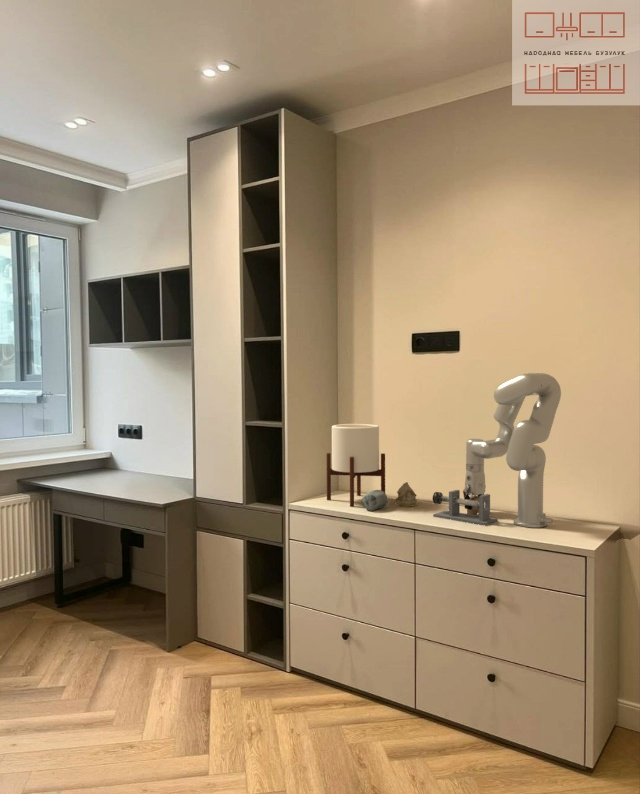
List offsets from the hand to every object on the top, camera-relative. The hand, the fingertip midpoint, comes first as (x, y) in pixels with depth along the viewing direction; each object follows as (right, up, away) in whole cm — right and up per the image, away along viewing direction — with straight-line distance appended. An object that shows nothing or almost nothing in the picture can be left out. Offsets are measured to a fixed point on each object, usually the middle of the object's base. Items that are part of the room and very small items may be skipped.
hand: (474, 507), depth 266 cm
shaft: (-9, +2, -8) cm, 12 cm away
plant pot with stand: (-49, -2, +29) cm, 57 cm away
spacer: (0, -3, 0) cm, 3 cm away
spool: (-42, -3, +11) cm, 43 cm away
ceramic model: (-26, -2, +21) cm, 34 cm away
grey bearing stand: (-6, -3, -10) cm, 13 cm away
